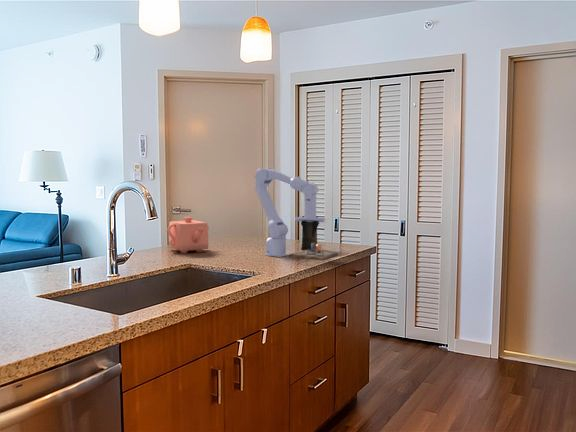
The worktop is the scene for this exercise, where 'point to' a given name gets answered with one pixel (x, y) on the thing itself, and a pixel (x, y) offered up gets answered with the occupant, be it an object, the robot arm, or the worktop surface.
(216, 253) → the worktop surface
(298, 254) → the jig base
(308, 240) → the container
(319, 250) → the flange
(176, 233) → the teapot
